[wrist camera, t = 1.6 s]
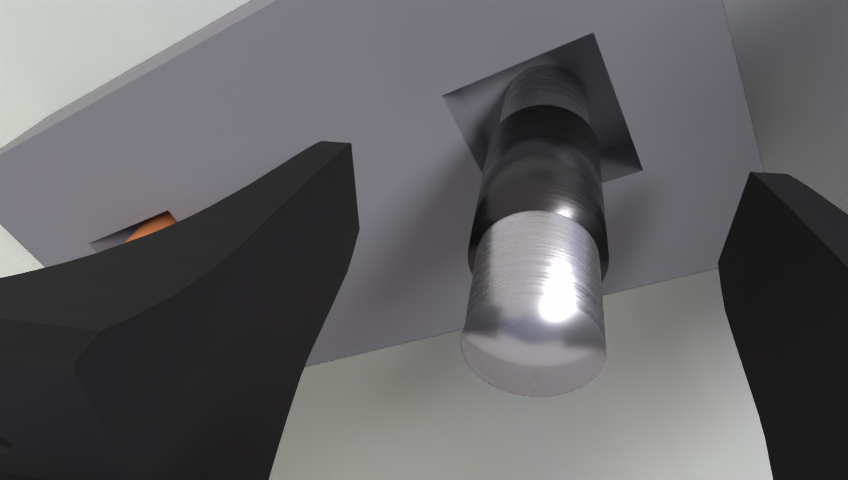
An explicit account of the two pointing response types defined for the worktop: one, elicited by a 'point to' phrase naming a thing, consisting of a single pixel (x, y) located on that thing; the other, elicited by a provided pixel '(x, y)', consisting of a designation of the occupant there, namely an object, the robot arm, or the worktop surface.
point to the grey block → (401, 139)
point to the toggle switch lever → (539, 243)
